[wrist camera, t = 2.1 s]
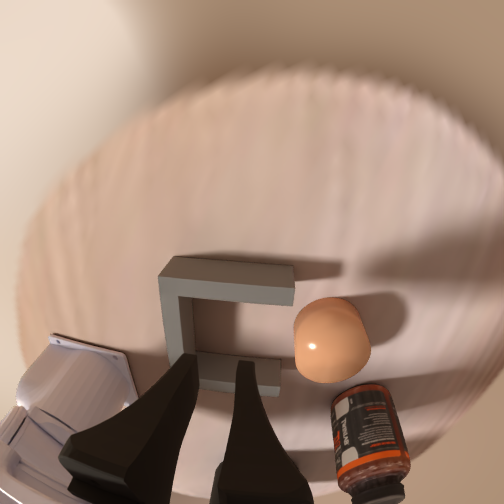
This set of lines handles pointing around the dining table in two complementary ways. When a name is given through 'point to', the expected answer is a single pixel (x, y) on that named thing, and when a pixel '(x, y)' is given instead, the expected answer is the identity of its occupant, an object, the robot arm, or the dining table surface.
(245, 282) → the dock
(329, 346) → the tan rounded knob
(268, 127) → the dining table surface
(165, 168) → the dining table surface
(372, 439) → the supplement bottle
